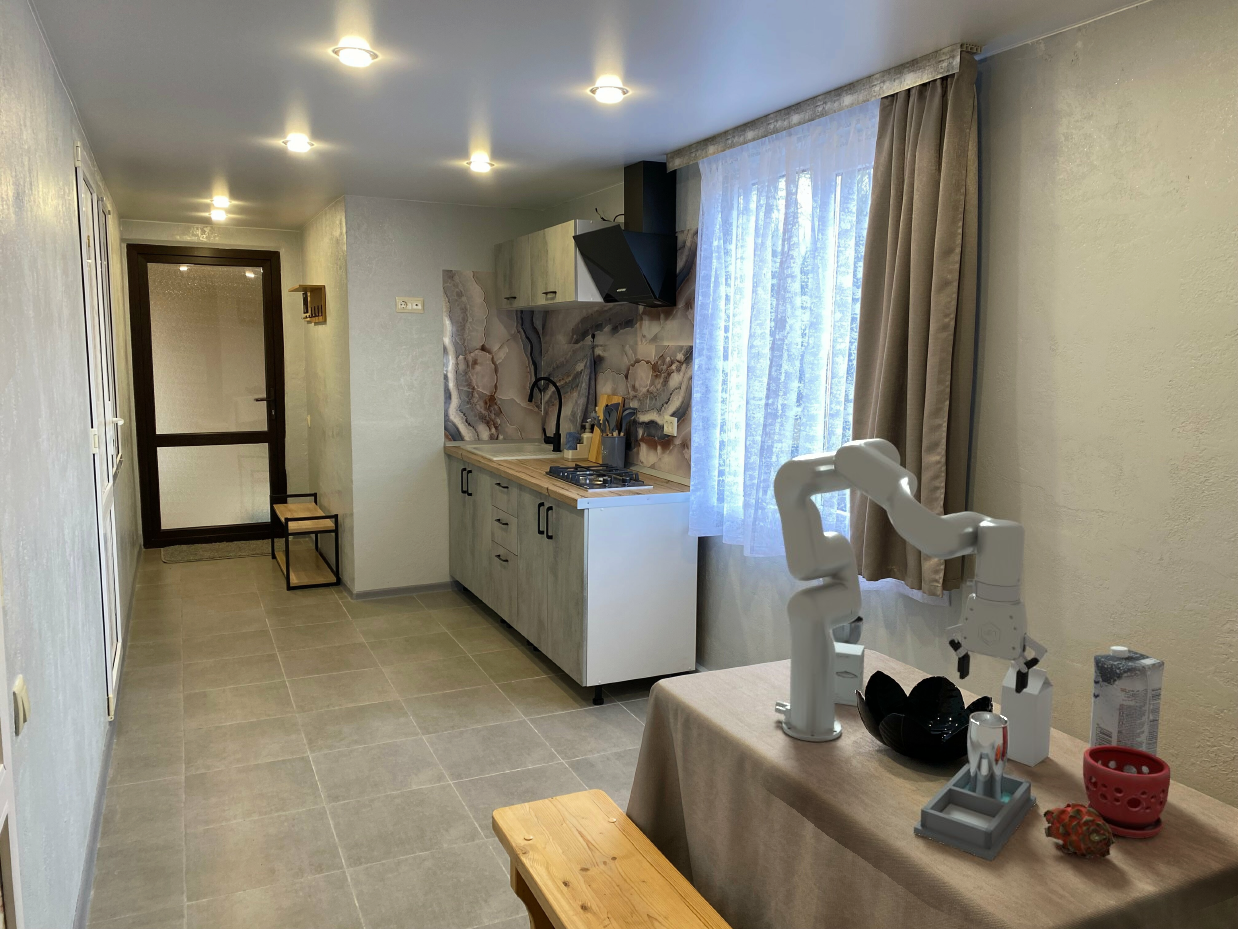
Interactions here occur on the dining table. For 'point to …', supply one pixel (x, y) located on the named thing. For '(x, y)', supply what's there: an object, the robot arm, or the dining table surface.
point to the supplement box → (848, 672)
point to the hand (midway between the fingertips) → (991, 684)
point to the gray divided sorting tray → (975, 815)
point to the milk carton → (1028, 715)
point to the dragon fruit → (1079, 830)
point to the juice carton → (1126, 702)
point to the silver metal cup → (987, 753)
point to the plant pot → (1126, 789)
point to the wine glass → (848, 632)
